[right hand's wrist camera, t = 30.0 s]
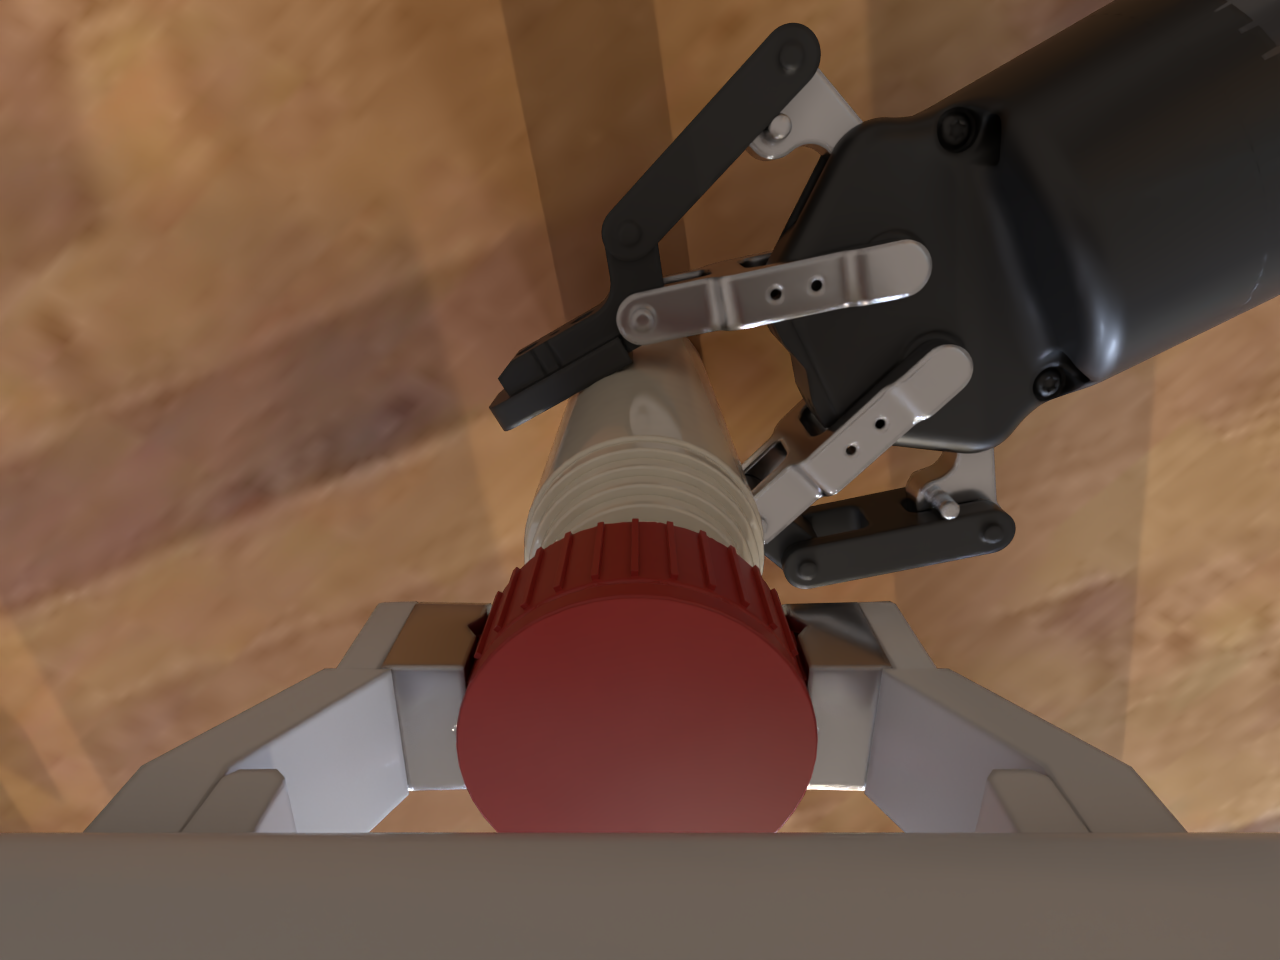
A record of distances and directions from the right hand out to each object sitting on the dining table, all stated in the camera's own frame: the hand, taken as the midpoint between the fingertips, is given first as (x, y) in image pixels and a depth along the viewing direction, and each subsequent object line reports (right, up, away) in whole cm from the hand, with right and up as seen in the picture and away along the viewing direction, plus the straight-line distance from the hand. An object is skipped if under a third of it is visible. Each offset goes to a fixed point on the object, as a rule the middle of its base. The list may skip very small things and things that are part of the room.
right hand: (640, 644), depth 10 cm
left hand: (-2, +2, +9) cm, 10 cm away
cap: (0, -1, -2) cm, 2 cm away
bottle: (0, +6, +15) cm, 16 cm away
